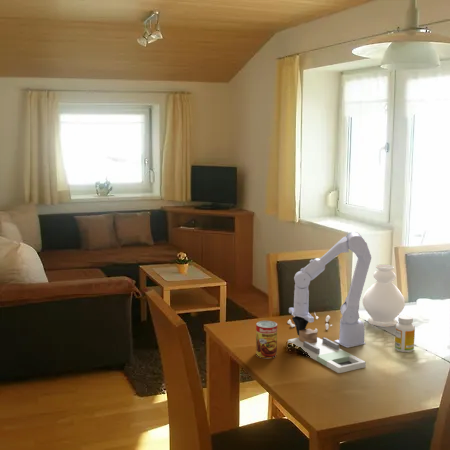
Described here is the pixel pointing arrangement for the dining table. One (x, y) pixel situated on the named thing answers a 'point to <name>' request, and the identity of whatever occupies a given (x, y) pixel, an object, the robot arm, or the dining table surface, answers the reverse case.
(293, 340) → the deck
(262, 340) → the canned food
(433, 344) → the dining table surface
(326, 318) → the game piece set
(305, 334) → the block
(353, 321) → the robot arm
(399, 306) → the decorative vase
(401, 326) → the supplement bottle
